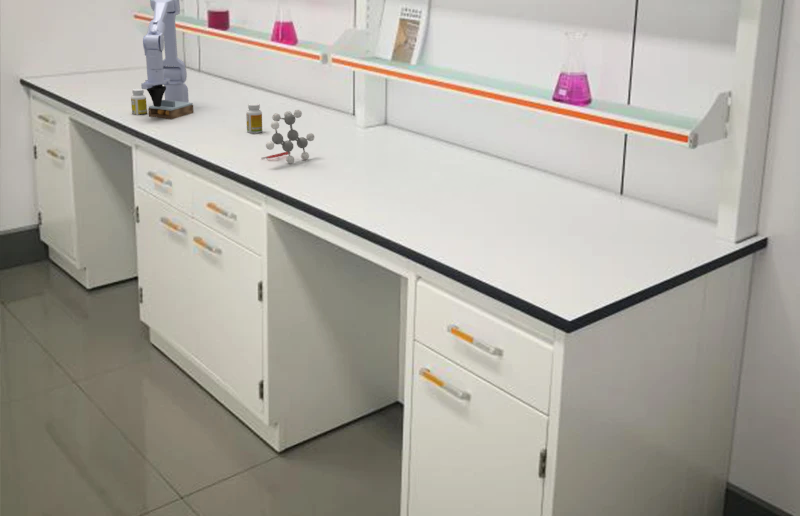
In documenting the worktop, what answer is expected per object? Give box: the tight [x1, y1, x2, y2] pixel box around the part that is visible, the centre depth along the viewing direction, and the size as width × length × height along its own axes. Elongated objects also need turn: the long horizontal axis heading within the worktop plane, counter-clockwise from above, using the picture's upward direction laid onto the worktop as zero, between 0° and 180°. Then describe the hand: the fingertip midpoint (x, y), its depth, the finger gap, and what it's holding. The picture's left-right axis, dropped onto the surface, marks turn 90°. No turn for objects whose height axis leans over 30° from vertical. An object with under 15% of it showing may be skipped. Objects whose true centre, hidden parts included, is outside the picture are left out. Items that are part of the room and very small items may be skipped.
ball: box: [157, 109, 165, 115], centre depth 332 cm, size 3×3×3 cm
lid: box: [148, 99, 194, 111], centre depth 333 cm, size 14×10×3 cm
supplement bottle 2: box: [245, 103, 263, 134], centre depth 313 cm, size 5×5×10 cm
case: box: [147, 104, 194, 120], centre depth 335 cm, size 14×10×4 cm
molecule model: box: [260, 109, 315, 165], centre depth 276 cm, size 20×16×16 cm
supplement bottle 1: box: [130, 88, 148, 116], centre depth 333 cm, size 5×5×10 cm
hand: (157, 106), depth 326 cm, fingers closed
